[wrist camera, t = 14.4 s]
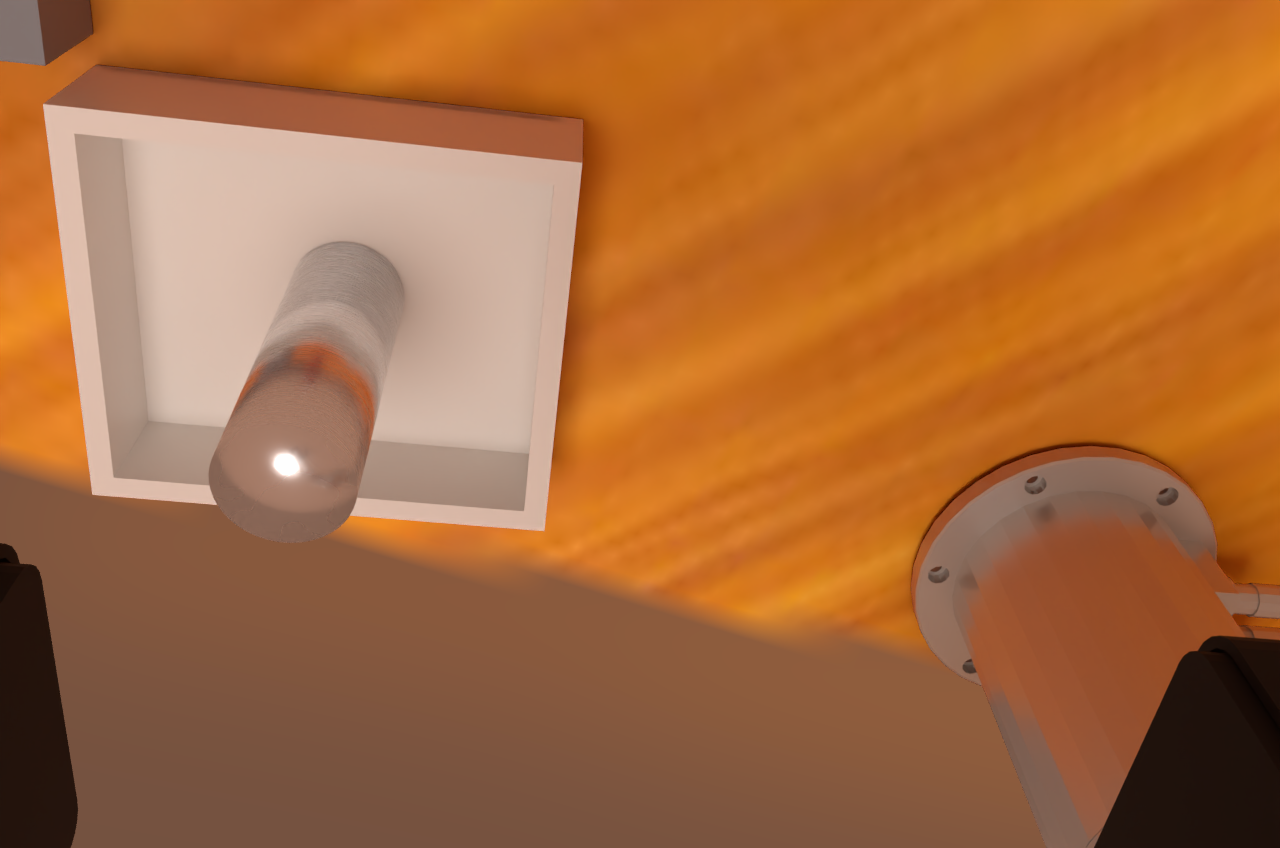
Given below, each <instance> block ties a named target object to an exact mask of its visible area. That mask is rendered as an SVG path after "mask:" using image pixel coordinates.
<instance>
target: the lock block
mask: <svg viewBox="0 0 1280 848" xmlns="http://www.w3.org/2000/svg"><path fill="white" fill-rule="evenodd" d="M92 34H93V27H92V17H91V8H90V0H0V61H8V62H17V63H26V64H35V65H44V66H46V65H47V64H49V63H50V62H52V61H53V60H55V59H56V58H58V57H59V56H61V55H62V54H64V53H65V52H66V51H68V50H69V49H71V48H72V47H74V46H75V45H77V44H78V43H80V42H81V41H83V40H84V39H86V38H87V37H89V36H90V35H92Z"/></svg>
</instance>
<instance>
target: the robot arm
mask: <svg viewBox="0 0 1280 848" xmlns="http://www.w3.org/2000/svg"><path fill="white" fill-rule="evenodd" d="M911 595H912V603H913V610H914V613H915V616H916V618H917V622H918V625H919V628H920V631H921V633H922V635H923V637H924V638H925V640H926V642H927V644H928V646H929V648H930V649H931V651H932V652H933V653H934V654H935V655H936V656H937V657H938V658H939V659H940V660H941V662H942V663H943V664H944V665H945V666H946V667H948V668H949V669H950V670H952V671H953V672H955V673H956V674H957V675H959V676H960V677H962V678H964V679H966V680H969V681H971V682H973V683H975V684H978V685H980V686H982V687H983V689H984V692H985V694H986V697H987V699H988V701H989V704H990V707H991V709H992V712H993V714H994V717H995V719H996V722H997V724H998V727H999V729H1000V732H1001V734H1002V737H1003V739H1004V742H1005V745H1006V747H1007V750H1008V752H1009V755H1010V757H1011V760H1012V762H1013V765H1014V767H1015V770H1016V772H1017V775H1018V777H1019V780H1020V783H1021V785H1022V788H1023V790H1024V793H1025V795H1026V798H1027V800H1028V803H1029V805H1030V808H1031V810H1032V813H1033V815H1034V818H1035V820H1036V823H1037V825H1038V828H1039V831H1040V833H1041V836H1042V838H1043V841H1044V843H1045V846H1046V848H1280V628H1273V627H1260V626H1248V625H1242V626H1238V625H1237V623H1236V622H1235V620H1234V619H1233V617H1232V615H1233V614H1242V615H1247V616H1248V617H1260V618H1272V619H1279V618H1280V585H1269V584H1256V583H1249V584H1237V583H1233V581H1232V580H1231V579H1230V578H1229V577H1227V576H1226V575H1225V573H1224V572H1223V571H1222V569H1221V568H1220V567H1219V565H1218V564H1217V540H1216V536H1215V531H1214V526H1213V522H1212V520H1211V518H1210V517H1209V515H1208V513H1207V511H1206V509H1205V507H1204V505H1203V503H1202V502H1201V500H1200V499H1199V498H1198V497H1197V495H1196V494H1195V493H1194V491H1193V490H1192V489H1191V488H1190V486H1189V485H1188V484H1187V483H1186V482H1185V481H1184V480H1183V479H1182V478H1181V477H1179V476H1178V475H1177V474H1176V473H1175V472H1173V471H1172V470H1171V469H1170V468H1169V467H1167V466H1165V465H1163V464H1161V463H1159V462H1157V461H1155V460H1153V459H1151V458H1149V457H1148V456H1145V455H1142V454H1138V453H1134V452H1131V451H1127V450H1124V449H1120V448H1109V447H1098V446H1083V447H1070V448H1060V449H1055V450H1051V451H1047V452H1042V453H1038V454H1034V455H1030V456H1028V457H1025V458H1023V459H1020V460H1018V461H1015V462H1013V463H1010V464H1008V465H1005V466H1002V467H1001V468H999V469H997V470H996V471H994V472H992V473H990V474H989V475H987V476H985V477H984V478H982V479H980V480H978V481H977V482H975V483H974V484H973V485H972V486H970V487H969V488H968V489H967V490H965V491H964V492H963V493H962V494H960V495H959V496H958V497H957V498H956V499H954V500H953V501H952V502H951V503H950V505H949V506H948V507H947V508H946V509H945V510H944V511H943V512H942V514H941V515H940V516H939V517H938V518H937V519H936V520H935V522H934V523H933V525H932V527H931V528H930V530H929V532H928V533H927V535H926V537H925V538H924V540H923V542H922V543H921V546H920V549H919V552H918V554H917V557H916V560H915V563H914V566H913V573H912V581H911ZM77 814H78V806H77V797H76V791H75V784H74V778H73V771H72V765H71V759H70V753H69V746H68V740H67V734H66V728H65V722H64V715H63V709H62V704H61V697H60V691H59V684H58V678H57V672H56V666H55V659H54V653H53V647H52V641H51V635H50V629H49V622H48V616H47V610H46V603H45V597H44V591H43V585H42V579H41V576H40V572H39V570H38V569H37V567H36V566H34V565H30V564H20V563H19V560H18V556H17V553H16V552H15V550H14V549H13V547H12V546H9V545H7V544H2V543H0V848H70V847H71V845H72V841H73V838H74V834H75V829H76V824H77Z"/></svg>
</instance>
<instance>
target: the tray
mask: <svg viewBox="0 0 1280 848" xmlns="http://www.w3.org/2000/svg"><path fill="white" fill-rule="evenodd" d="M43 108H44V115H45V123H46V131H47V139H48V147H49V155H50V163H51V171H52V179H53V187H54V194H55V202H56V210H57V218H58V226H59V234H60V242H61V250H62V258H63V266H64V273H65V281H66V289H67V297H68V305H69V313H70V321H71V329H72V337H73V345H74V353H75V360H76V368H77V376H78V384H79V392H80V400H81V408H82V416H83V424H84V432H85V439H86V447H87V455H88V463H89V471H90V479H91V487H92V495H103V496H115V497H128V498H140V499H152V500H165V501H177V502H190V503H202V504H214V505H217V503H216V502H215V500H214V498H213V495H212V493H211V490H210V485H209V475H208V473H209V466H210V463H211V459H212V457H213V455H214V452H215V450H216V448H217V445H218V443H219V441H220V439H221V436H222V434H223V432H224V430H225V427H226V425H227V423H228V420H229V418H230V416H231V414H232V411H233V409H234V407H235V405H236V402H237V400H238V398H239V395H240V393H241V391H242V389H243V386H244V384H245V382H246V380H247V377H248V375H249V373H250V370H251V368H252V366H253V364H254V361H255V359H256V357H257V355H258V352H259V350H260V348H261V345H262V343H263V341H264V339H265V336H266V334H267V332H268V330H269V327H270V325H271V323H272V320H273V318H274V316H275V314H276V311H277V309H278V307H279V304H280V302H281V300H282V298H283V295H284V293H285V291H286V289H287V286H288V284H289V282H290V279H291V277H292V275H293V273H294V270H295V268H296V266H297V265H298V263H299V262H300V260H301V259H302V258H303V257H304V256H305V255H306V254H308V253H309V252H310V251H312V250H313V249H315V248H317V247H319V246H322V245H324V244H328V243H334V242H351V243H357V244H361V245H364V246H366V247H369V248H371V249H373V250H375V251H376V252H378V253H380V254H381V255H382V256H384V257H385V258H386V259H387V260H388V261H389V262H390V263H391V264H392V265H393V267H394V268H395V269H396V271H397V272H398V274H399V276H400V278H401V281H402V283H403V288H404V295H405V299H404V307H403V311H402V315H401V319H400V324H399V328H398V332H397V336H396V340H395V344H394V348H393V352H392V356H391V360H390V365H389V369H388V373H387V377H386V381H385V385H384V389H383V393H382V397H381V401H380V406H379V410H378V414H377V418H376V422H375V426H374V430H373V434H372V438H371V442H370V447H369V451H368V455H367V459H366V463H365V467H364V471H363V475H362V479H361V483H360V488H359V492H358V496H357V500H356V503H355V506H354V509H353V511H352V512H351V514H350V515H351V516H363V517H376V518H388V519H400V520H413V521H425V522H438V523H450V524H462V525H475V526H487V527H500V528H512V529H524V530H537V531H544V529H545V520H546V510H547V500H548V491H549V481H550V471H551V462H552V452H553V442H554V433H555V423H556V413H557V404H558V394H559V384H560V375H561V365H562V355H563V346H564V336H565V327H566V317H567V307H568V298H569V288H570V278H571V269H572V259H573V249H574V240H575V230H576V220H577V211H578V201H579V191H580V182H581V172H582V161H583V119H575V118H567V117H558V116H549V115H540V114H531V113H522V112H513V111H504V110H495V109H487V108H478V107H469V106H460V105H451V104H442V103H433V102H424V101H415V100H407V99H398V98H389V97H380V96H371V95H362V94H353V93H344V92H335V91H327V90H318V89H309V88H300V87H291V86H282V85H273V84H264V83H255V82H247V81H238V80H229V79H220V78H211V77H202V76H193V75H184V74H175V73H167V72H158V71H149V70H140V69H131V68H122V67H113V66H104V65H95V66H94V67H92V68H91V69H90V70H88V71H87V72H86V73H84V74H83V75H82V76H80V77H79V78H78V79H76V80H75V81H74V82H72V83H71V84H69V85H68V86H67V87H65V88H64V89H63V90H61V91H60V92H59V93H57V94H56V95H55V96H53V97H52V98H51V99H49V100H48V101H46V102H45V103H44V104H43Z"/></svg>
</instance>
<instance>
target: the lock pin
mask: <svg viewBox="0 0 1280 848" xmlns="http://www.w3.org/2000/svg"><path fill="white" fill-rule="evenodd" d="M404 299H405V295H404V288H403V283H402V281H401V278H400V276H399V274H398V272H397V271H396V269H395V268H394V267H393V265H392V264H391V263H390V262H389V261H388V260H387V259H386V258H385V257H384V256H382V255H381V254H380V253H378V252H376V251H375V250H373V249H371V248H369V247H366V246H364V245H361V244H357V243H351V242H334V243H328V244H324V245H322V246H319V247H317V248H315V249H313V250H312V251H310V252H309V253H308V254H306V255H305V256H304V257H303V258H302V259H301V260H300V262H299V263H298V265H297V266H296V268H295V270H294V273H293V275H292V277H291V279H290V282H289V284H288V286H287V289H286V291H285V293H284V295H283V298H282V300H281V302H280V304H279V307H278V309H277V311H276V314H275V316H274V318H273V320H272V323H271V325H270V327H269V330H268V332H267V334H266V336H265V339H264V341H263V343H262V345H261V348H260V350H259V352H258V355H257V357H256V359H255V361H254V364H253V366H252V368H251V370H250V373H249V375H248V377H247V380H246V382H245V384H244V386H243V389H242V391H241V393H240V395H239V398H238V400H237V402H236V405H235V407H234V409H233V411H232V414H231V416H230V418H229V420H228V423H227V425H226V427H225V430H224V432H223V434H222V436H221V439H220V441H219V443H218V445H217V448H216V450H215V452H214V455H213V457H212V459H211V463H210V466H209V473H208V475H209V485H210V490H211V493H212V495H213V498H214V500H215V502H216V503H217V505H218V507H219V508H220V509H221V511H222V512H223V513H224V514H225V515H226V516H227V517H228V518H229V519H230V520H231V521H232V522H233V523H235V524H236V525H237V526H239V527H240V528H242V529H243V530H245V531H247V532H249V533H251V534H253V535H256V536H258V537H261V538H264V539H268V540H272V541H277V542H287V543H292V542H295V543H296V542H305V541H310V540H314V539H318V538H321V537H323V536H325V535H327V534H329V533H331V532H333V531H334V530H336V529H337V528H339V527H340V526H341V525H342V524H343V523H344V522H345V521H346V520H347V518H348V517H349V516H350V514H351V512H352V511H353V509H354V506H355V503H356V500H357V496H358V492H359V488H360V483H361V479H362V475H363V471H364V467H365V463H366V459H367V455H368V451H369V447H370V442H371V438H372V434H373V430H374V426H375V422H376V418H377V414H378V410H379V406H380V401H381V397H382V393H383V389H384V385H385V381H386V377H387V373H388V369H389V365H390V360H391V356H392V352H393V348H394V344H395V340H396V336H397V332H398V328H399V324H400V319H401V315H402V311H403V307H404Z"/></svg>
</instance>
